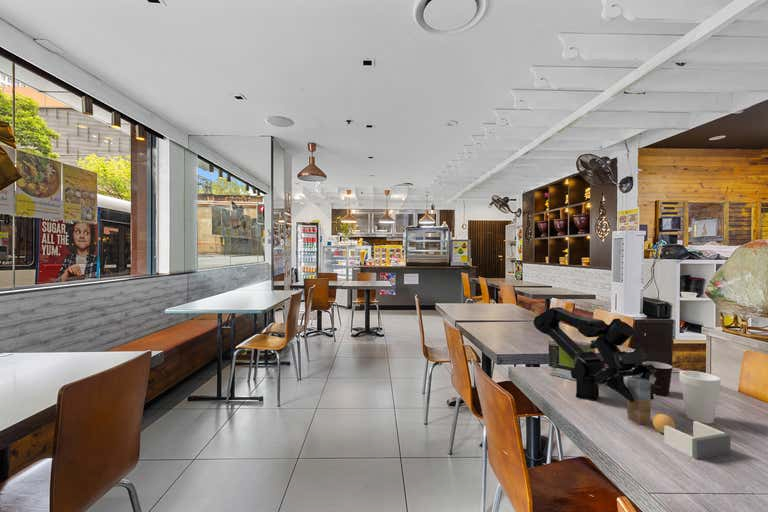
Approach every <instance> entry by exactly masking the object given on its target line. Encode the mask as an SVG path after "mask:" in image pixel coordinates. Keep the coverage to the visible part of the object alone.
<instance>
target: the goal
mask: <svg viewBox="0 0 768 512" xmlns="http://www.w3.org/2000/svg"><path fill="white" fill-rule="evenodd" d="M692 426H693V427H692V431H693V432H692V434H693V435H689V434H688V433H684V432H682V431H681V430H678V429H676V428H675V429H674V428H672V427H669V426H664V433H663V439H664V441H663V443H664V444H665V445H667V446H669V447H671V448H673V449H676V450H677V451H679V452H681V453H683V454H685V455H687V456H690V457H691V458H694V459H696V460H700V459H705V458H711V457H712V458H713V457H715V456H722V455H728V454H731V434H729V433H726V432H724V431H721V430H719V429H716V428H715V427H711V426H709V425H707V424H705V423H701V422H697V421H694V420H693V422H692Z"/></svg>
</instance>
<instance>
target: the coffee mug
mask: <svg viewBox="0 0 768 512" xmlns="http://www.w3.org/2000/svg"><path fill="white" fill-rule="evenodd" d="M640 364H641V363H636V366H635V367H633V369H635V368H636V367H637V366H639V365H640ZM642 364H652V365H653V366H654V367H655V369H656V370H657V371H656V372H654V373H653V374H652V375H651V376H650V379H649V380H650V386H651V389H652V392H653V394H656V395H655V396H658V395H660V396H659V397H668V396H669V394H670V387H671V380H672V375H673V374H672V372H673V366H672V365H671V364H668V363H664V362H659V361H646V362H642ZM667 395H668V396H667Z"/></svg>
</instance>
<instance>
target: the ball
mask: <svg viewBox="0 0 768 512" xmlns="http://www.w3.org/2000/svg"><path fill="white" fill-rule="evenodd" d="M652 425H653V427H654V429H655V430H657V431H658V432H660V433H661V434H664V426H669V427H672V428H674V429H676V423H675V421H674V419H673V418H671V416H669V415H667V414H665V413H658V414H656V415H654V416H653V418H652Z"/></svg>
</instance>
